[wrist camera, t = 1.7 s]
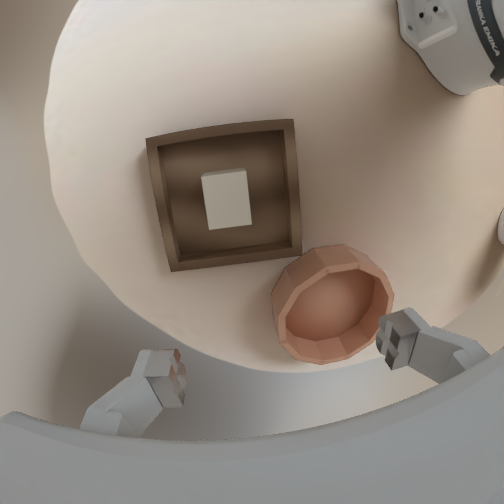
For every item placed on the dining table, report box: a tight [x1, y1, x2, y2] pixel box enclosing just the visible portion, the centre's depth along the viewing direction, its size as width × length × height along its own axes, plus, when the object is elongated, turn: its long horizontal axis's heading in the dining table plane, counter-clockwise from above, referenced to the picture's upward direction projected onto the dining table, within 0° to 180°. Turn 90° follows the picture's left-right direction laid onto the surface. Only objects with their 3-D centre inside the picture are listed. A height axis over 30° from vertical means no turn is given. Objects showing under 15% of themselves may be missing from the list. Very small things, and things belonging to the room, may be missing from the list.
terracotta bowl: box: [271, 244, 394, 365], centre depth 32 cm, size 15×15×5 cm
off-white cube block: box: [201, 168, 252, 230], centre depth 26 cm, size 5×4×4 cm
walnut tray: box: [146, 119, 302, 272], centre depth 27 cm, size 14×14×3 cm
